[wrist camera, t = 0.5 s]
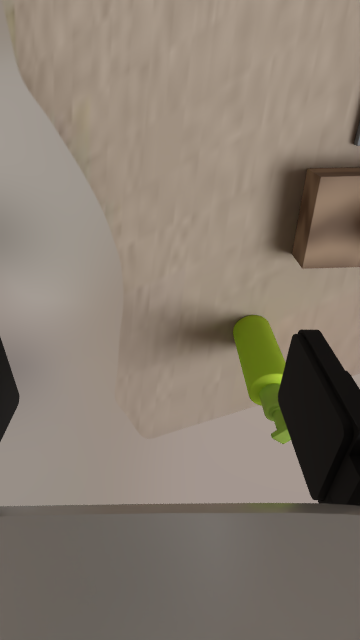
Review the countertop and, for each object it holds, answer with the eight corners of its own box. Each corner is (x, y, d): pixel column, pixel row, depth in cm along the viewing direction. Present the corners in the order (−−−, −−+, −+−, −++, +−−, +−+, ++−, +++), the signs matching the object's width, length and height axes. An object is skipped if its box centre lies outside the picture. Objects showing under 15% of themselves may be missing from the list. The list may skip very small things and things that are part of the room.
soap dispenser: (282, 323, 54) (332, 427, 38) (251, 350, 57) (285, 458, 41) (255, 303, 52) (296, 406, 36) (225, 333, 55) (249, 440, 39)
